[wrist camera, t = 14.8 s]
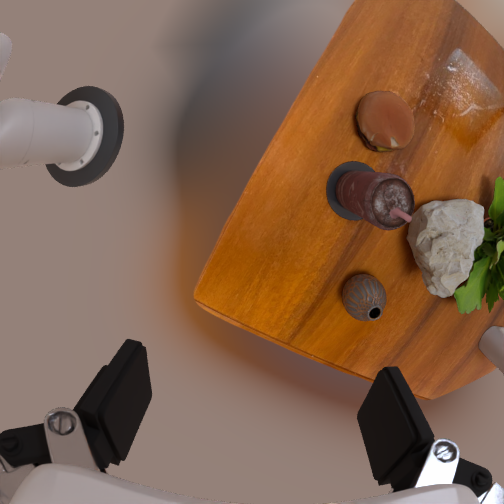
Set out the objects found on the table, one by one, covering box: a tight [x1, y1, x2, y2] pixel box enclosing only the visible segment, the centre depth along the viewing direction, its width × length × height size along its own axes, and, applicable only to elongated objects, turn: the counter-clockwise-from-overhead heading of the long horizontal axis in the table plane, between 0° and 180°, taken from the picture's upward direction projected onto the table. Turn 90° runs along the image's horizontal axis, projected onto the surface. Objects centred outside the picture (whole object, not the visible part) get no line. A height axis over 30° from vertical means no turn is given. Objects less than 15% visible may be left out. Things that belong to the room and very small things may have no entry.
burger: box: [355, 91, 415, 152], centre depth 34 cm, size 10×9×5 cm
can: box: [336, 171, 415, 230], centre depth 33 cm, size 6×6×14 cm
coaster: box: [326, 161, 375, 220], centre depth 39 cm, size 9×9×1 cm
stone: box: [406, 199, 484, 298], centre depth 35 cm, size 16×10×15 cm, turn 107°
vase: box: [342, 274, 386, 321], centre depth 40 cm, size 7×7×9 cm
